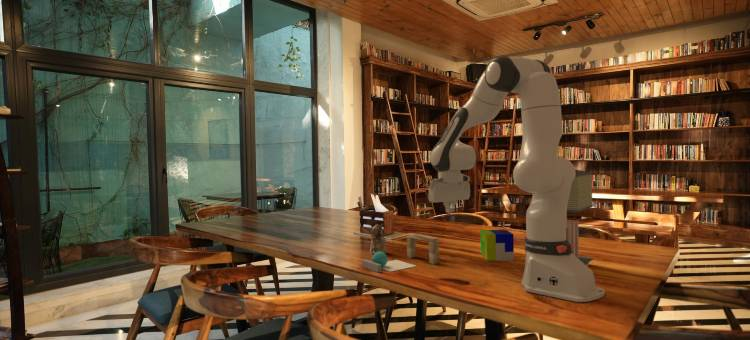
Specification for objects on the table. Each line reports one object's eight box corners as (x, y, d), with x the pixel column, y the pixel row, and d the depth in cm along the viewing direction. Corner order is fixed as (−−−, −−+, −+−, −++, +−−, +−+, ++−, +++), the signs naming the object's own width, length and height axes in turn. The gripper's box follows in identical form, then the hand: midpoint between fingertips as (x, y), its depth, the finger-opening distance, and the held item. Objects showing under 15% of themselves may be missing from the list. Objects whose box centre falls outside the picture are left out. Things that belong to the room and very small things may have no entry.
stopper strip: (381, 271, 145) (381, 264, 145) (377, 272, 144) (377, 265, 144) (365, 266, 153) (365, 259, 153) (362, 266, 152) (361, 259, 152)
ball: (392, 262, 151) (387, 249, 150) (382, 271, 148) (376, 257, 147) (383, 261, 156) (377, 248, 155) (372, 269, 152) (366, 255, 151)
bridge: (412, 255, 168) (412, 232, 168) (438, 263, 155) (438, 238, 155) (407, 257, 166) (406, 233, 166) (432, 264, 154) (432, 239, 154)
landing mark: (416, 266, 151) (416, 265, 151) (390, 271, 144) (390, 271, 144) (396, 260, 161) (396, 259, 161) (370, 265, 154) (370, 264, 154)
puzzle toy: (513, 260, 158) (513, 234, 157) (487, 260, 158) (486, 234, 158) (506, 254, 168) (505, 229, 167) (480, 254, 168) (480, 230, 168)
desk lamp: (579, 275, 135) (579, 174, 135) (535, 269, 144) (534, 174, 144) (593, 264, 149) (593, 172, 149) (552, 258, 158) (551, 172, 158)
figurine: (366, 252, 176) (366, 223, 176) (382, 250, 179) (381, 222, 179) (374, 255, 170) (373, 226, 170) (389, 253, 173) (389, 224, 173)
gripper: (435, 179, 160) (436, 215, 160) (472, 177, 172) (473, 210, 172) (424, 178, 165) (425, 213, 166) (461, 176, 177) (461, 209, 177)
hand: (449, 212), depth 169 cm, fingers closed
